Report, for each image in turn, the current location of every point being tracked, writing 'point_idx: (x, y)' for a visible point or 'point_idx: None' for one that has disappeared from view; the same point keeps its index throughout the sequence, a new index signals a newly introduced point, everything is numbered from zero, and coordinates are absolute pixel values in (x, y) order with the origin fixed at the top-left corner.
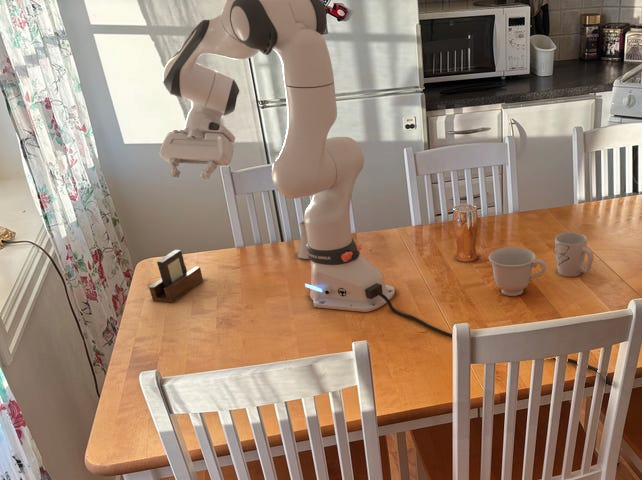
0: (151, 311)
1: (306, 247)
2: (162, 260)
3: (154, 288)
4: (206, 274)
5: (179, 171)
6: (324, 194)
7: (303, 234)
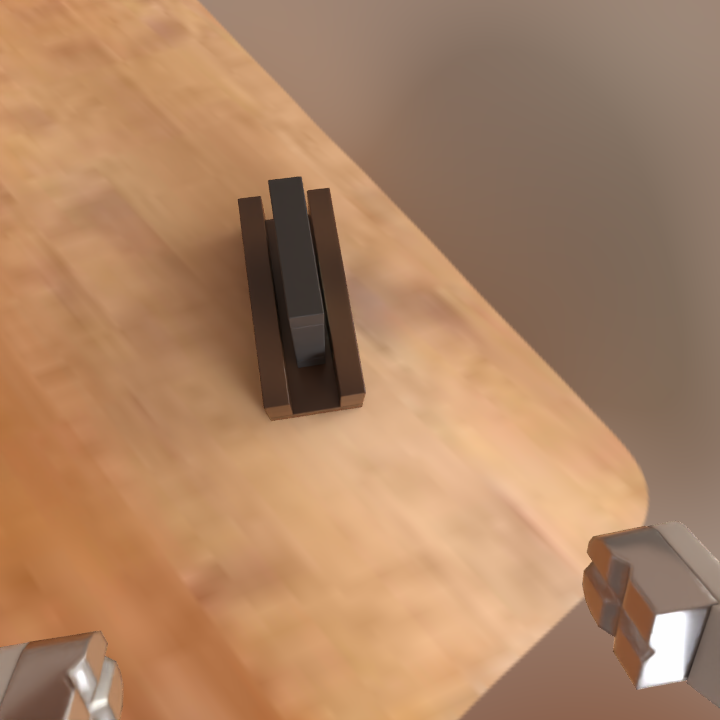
0: (273, 162)
1: None
2: (283, 193)
3: (307, 195)
4: (300, 474)
5: (638, 676)
6: None
7: None
